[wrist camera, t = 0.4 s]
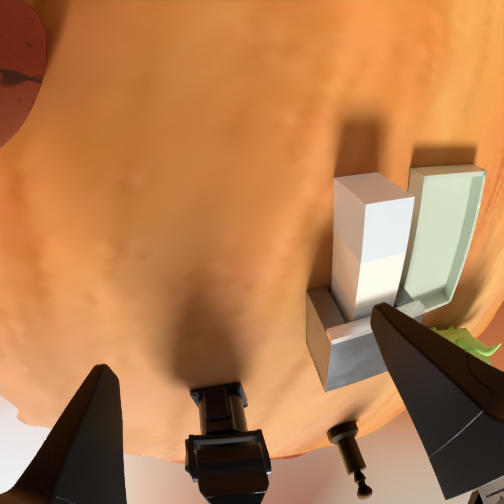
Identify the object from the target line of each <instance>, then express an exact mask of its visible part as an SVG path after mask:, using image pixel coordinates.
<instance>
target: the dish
mask: <svg viewBox="0 0 504 504" xmlns="http://www.w3.org/2000/svg"><path fill="white" fill-rule="evenodd" d="M485 177H486V171H485V170H484V169H482V168H480V167H478V166H476V165H474V164H461V165H444V166H429V167H417V168H410V173H409V185H408V192H409V193H410V194H412V195H413V196H414V197H415V198H414V206H413V213H412V220H411V227H410V233H409V238H408V244H407V249H406V255H405V260H404V264H403V269H402V274H401V278H400V284H401V285H402V286H403V287H404V289H405V290H406V291H407V292H408V294H409V295H410V296H411V297H412V299H413V300H414V301H417V300H419V301H420V302H421V303H422V305H423V306H424V307H425V308H426V309H425V312H424V313H426V312H428V311H431V310H433V309H436V308H438V307H440V306H443V305H445V304H448V303H450V302H451V300H452V297H453V295H454V292H455V289H456V287H457V284H458V281H459V278H460V275H461V273H462V270H463V267H464V264H465V260H466V257H467V254H468V251H469V247H470V244H471V240H472V237H473V233H474V229H475V225H476V221H477V217H478V213H479V208H480V204H481V199H482V194H483V189H484V183H485Z"/></svg>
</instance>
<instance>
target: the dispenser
mask: <svg viewBox="0 0 504 504" xmlns="http://www.w3.org/2000/svg"><path fill="white" fill-rule="evenodd" d="M306 293H307V337H306V344H307V346H308V349H309V352H310V354H311V357H312V359H313V362H314V365H315V367H316V370H317V373H318V375H319V378H320V380H321V383H322V386H323V388H324V391H325V392H327V391H331V390H334V389H337V388H340V387H344V386H347V385H350V384H353V383H356V382H359V381H361V380H364V379H367V378H370V377H373V376H375V375H378V374H381V373H383V372H386V371H388V370H387V367H386V365H385V363H384V360H383V358H382V355H381V352H380V350H379V347H378V345H377V342H376V339H375V337H374V334H373V332H372V329H371V326H370V319H371V316H369V317H366V318H363V319H359V320H356V321H353V322H349V323H345V321H344V319H343V317H342V315H341V313H340V311H339V310H338V308H337V306H336V304H335V302H334V300H333V299H332V297H331V295H330V293H329V291H328V290H327V288H326V286H325V287H321V288H316V289H312V290H308V291H306ZM393 307H395V308H396V309H398V310H400V311H401V312H403V313H405V314H406V315H408V316H410V317H411V318H413V319H415V320H416V321H418V322H420V323H421V320H422V318H423V315H424V312H425V309H426V308H425V307H424V306H423V305H422V303H421V302H420V301H419V300H417V301H414V300H413V299H412V297H411V296H410V295H409V294H408V292H407V291H406V290H405V289H404V287H403V286H402V285H401V284H400V282H399V287H398V291H397V295H396V299H395V303H394V306H393Z"/></svg>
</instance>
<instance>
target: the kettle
mask: <svg viewBox="0 0 504 504" xmlns="http://www.w3.org/2000/svg"><path fill="white" fill-rule="evenodd" d="M430 329H431V330H433V331H435V332H436V333H438V334H440V335H441V336H443V337H445V338H446V339H448V340H449V341H451V342H453V343H454V344H456V345H458V346H459V347H461V348H462V349H464V350H466V352H469V353H471V354H472V355H474V356H475V357H477V358H479V359H480V360H482V361H484V362H486V363H487V364H489V365H490V364H491V361H490V360H489V358H488V357H487V356H489V355H491V354H493V353H494V352H495V351H496V350H497V349H498V348H499V346H500V345H501V343H500V344H498V345H496V346H487V345H485V344H483V343H482V342H481V341H479V340H478V339H476V338H475V337H472V335H471V334H470V333H469V331H468V330H467V329H466V328H461V329H453V326H450V327H449V328H448V329H446V330H437V329H436V327H432V328H430Z"/></svg>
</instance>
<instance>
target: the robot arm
mask: <svg viewBox="0 0 504 504" xmlns="http://www.w3.org/2000/svg"><path fill="white" fill-rule="evenodd" d="M370 326H371V329H372V332H373V334H374V337H375V339H376V342H377V345H378V347H379V350H380V352H381V355H382V358H383V360H384V363H385V365H386V367H387V370H388V372H389V374H390V376H391V378H392V380H393V382H394V384H395V386H396V388H397V390H398V392H399V394H400V396H401V398H402V400H403V402H404V404H405V406H406V408H407V410H408V412H409V415H410V416H411V419H412V421H413V423H414V425H415V428H416V430H417V432H418V434H419V437H420V439H421V441H422V443H423V446H424V448H425V450H426V453H427V455H428V457H429V460H430V462H431V465H432V467H433V470H434V472H435V475H436V477H437V479H438V482H439V485H440V487H441V490H442V492H443V495H444V498H445V500H448V499H451V498H454V497H456V496H459V495H461V494H464V493H467V492H469V491H472V490H474V489H476V488H478V489H476V490H475V491H474V492H472V494H471V497H470V499H469V502H468V504H504V372H503V371H501V370H499V369H497V368H495V367H493V366H491V365H489V364H487V363H486V362H484V361H482V360H480V359H479V358H477V357H475V356H474V355H472V354H471V353H469V352H466V350H464V349H462V348H461V347H459V346H458V345H456V344H454V343H453V342H451V341H449V340H448V339H446V338H445V337H443V336H441V335H440V334H438V333H436V332H435V331H433V330H431V329H430V328H428V327H426V326H425V325H423V324H421V323H420V322H418V321H416V320H415V319H413V318H411V317H410V316H408V315H406V314H405V313H403V312H401V311H400V310H398V309H396V308H395V307H393V306H391V305H390V304H388V303H386V302H382V303H379V304H375V305H374V306H373V308H372V314H371V319H370ZM190 396H191V397H192V399H193V400H194V402H195V403H196V405H197V406H198V408H199V415H200V427H201V435H189V439H186V440H185V446H186V458H185V470H186V471H187V472H188V473H189V474H190V476H191V477H192V480H193V482H198V485H199V490H200V492H201V494H202V495H203V497H204V498H205V500H206V501H207V502H208V503H209V504H261V502H262V500H263V497H264V495H265V493H266V491H267V488H268V485H269V480H268V475H271V462H270V457H269V453H268V450H267V447H266V444H265V440H264V437H263V434H262V431H261V429H257V430H254V431H248V429H247V423H246V418H245V412H244V408H245V407H247V406H248V404H247V401H246V398H245V395H244V392H243V389H242V386H241V384H240V383H235V384H229V385H223V386H217V387H211V388H204V389H197V390H191V391H190ZM0 504H127V501H126V489H125V477H124V459H123V421H122V409H121V399H120V385H119V380H118V377H117V376H116V375H115V373H114V372H113V371H112V370H111V369H110V367H109V366H108V365H106V364H98V365H95V366H94V367H93V369H92V370H91V372H90V373H89V374H88V376H87V377H86V379H85V380H84V382H83V383H82V384H81V386H80V387H79V389H78V390H77V392H76V393H75V395H74V396H73V398H72V399H71V401H70V402H69V404H68V405H67V407H66V408H65V410H64V411H63V413H62V414H61V416H60V418H59V419H58V421H57V422H56V424H55V425H54V427H53V428H52V430H51V432H50V433H49V435H48V436H47V438H46V440H45V441H44V443H43V445H42V446H41V448H40V449H39V451H38V452H37V454H36V456H35V457H34V458H33V460H32V461H31V463H30V464H29V466H28V467H27V468H26V470H25V471H24V473H23V474H22V475H21V477H20V478H19V479H18V481H17V482H16V484H15V485H14V486H13V487H12V488H11V489H10V490H8V491H7V492H5V493H2V494H0Z"/></svg>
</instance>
